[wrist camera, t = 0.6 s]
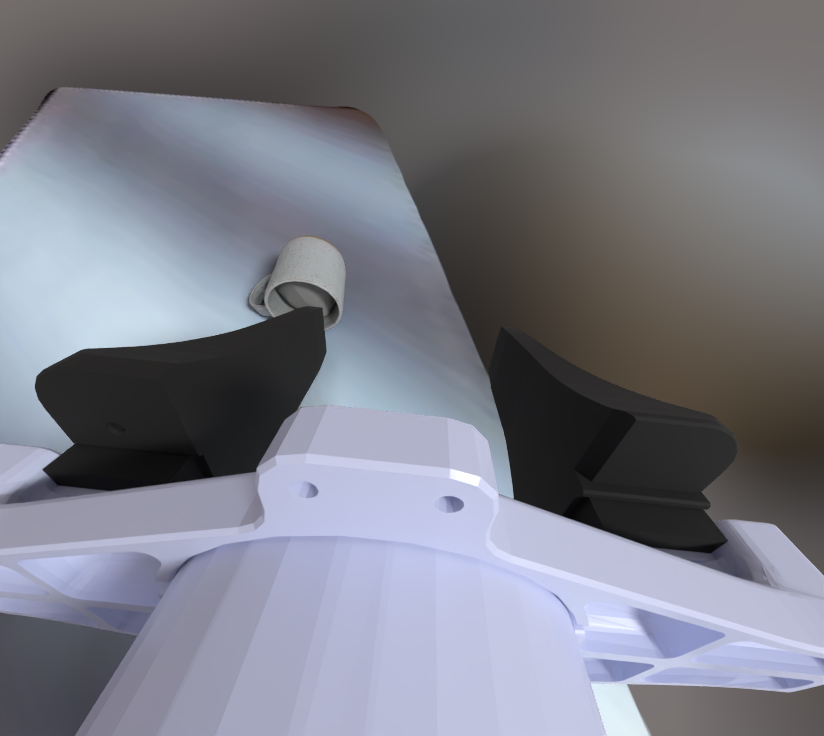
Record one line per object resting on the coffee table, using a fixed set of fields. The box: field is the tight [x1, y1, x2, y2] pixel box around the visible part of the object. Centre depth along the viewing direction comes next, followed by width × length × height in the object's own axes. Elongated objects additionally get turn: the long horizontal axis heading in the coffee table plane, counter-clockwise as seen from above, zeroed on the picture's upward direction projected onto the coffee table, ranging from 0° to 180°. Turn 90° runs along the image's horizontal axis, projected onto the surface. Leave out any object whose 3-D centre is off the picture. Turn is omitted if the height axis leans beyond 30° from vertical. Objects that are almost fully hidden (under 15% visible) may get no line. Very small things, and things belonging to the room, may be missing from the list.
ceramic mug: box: [249, 236, 346, 331], centre depth 31 cm, size 10×8×7 cm
